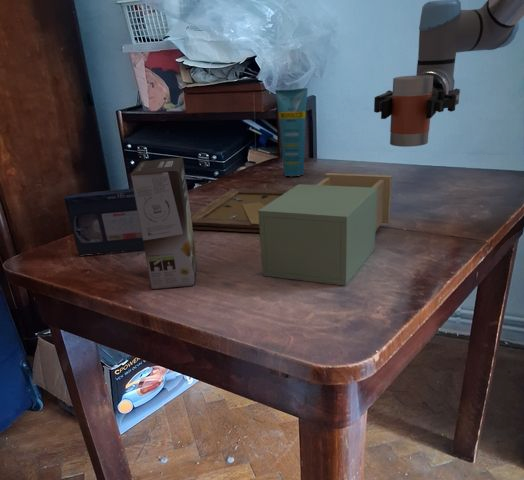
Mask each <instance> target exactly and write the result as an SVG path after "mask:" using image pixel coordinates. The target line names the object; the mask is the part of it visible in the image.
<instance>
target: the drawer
mask: <svg viewBox="0 0 524 480" xmlns="http://www.w3.org/2000/svg"><path fill="white" fill-rule="evenodd" d="M316 185H327V186H349V187H371V188H377V207H376V231H378V229H379V228H380V227H381V226H382V225H383V224H389V223H390V221H391V205H392V187H393V175H392V174H371V173H370V174H367V173H365V174H364V173H340V172H339V173H337V172H334V173H332V172H327V173H325V174H324V179H322V180H321V181H320V182H318V183H317V184H316Z"/></svg>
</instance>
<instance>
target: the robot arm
mask: <svg viewBox="0 0 524 480" xmlns="http://www.w3.org/2000/svg"><path fill="white" fill-rule="evenodd" d="M523 17H524V0H487V1H486V2H484V4H483V5H482V6H481V7H480V8H475V9H462V2H461V0H432V1H431V0H430V1H427V2H425V3H424V4H423V5H422V8H421V14H420V19H419V27H418V30H419V31H418V32H419V33H418V36H419V37H418V54H417V56H418V57H417V64H416V73H415V75H431V76H433V87H432V97H431V98H430V99H428V100H427V112H426V118H430V119H432V118H433V117H434V116H435V115H436V113H437V112H438V113H442V112H444V110H445V109H447V111H448V112H454V111H456V106H457V105H458V104H460V103H459V102H460V93H461V88H455V78H454V77H455V76H454V74H455V65H456V64H455V63H456V58H457V54H459V53H465V52H476V51H477V52H478V51H493V50H497V49H500V48H504V47H507V46H509V45H510V44H511V43H512V42H513V41H514V40H515V38H516V35H517V33H518V32H519V29H520V20H521V19H522V18H523ZM392 94H393V90H389V89H388V90H387V91H385V93H381V94H379V95H376V96H374V99H373V101H374V102H373V112H374V113H380V119H381V120H386V119H388V118H389V117H391V106H392Z"/></svg>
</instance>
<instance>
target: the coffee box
mask: <svg viewBox="0 0 524 480" xmlns="http://www.w3.org/2000/svg"><path fill="white" fill-rule="evenodd" d="M130 178H131V184H132V188H133V190H134V195H135V201H136V206H137V212H138V217H139V222H140V228H141V233H142V238H143V244H144V249H145V250H144V255H145V260H146V265H147V270H148V275H149V281H150V287H151V289H152V290H158V289H168V288H178V287H191V286H194V285H195V282H196V281H195V280H196V275H197V274H196V273H197V267H198V258H197V250H196V243H195V242H196V241H195V236H194V229H193V228H192V221H191V215H192V214H191V208H190V199H189V192H188V191H189V190H188V185H187V178H186V170H185V163H184V158H183V157H171V158H170V157H169V158H160V159H153V160H145V161H143V160H142V161H140V162H139V163H138V164H137V166H136V167H135V168H134V169H133V170H132V172H131V173H130Z"/></svg>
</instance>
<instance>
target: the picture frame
mask: <svg viewBox="0 0 524 480" xmlns="http://www.w3.org/2000/svg"><path fill="white" fill-rule="evenodd" d="M289 190H290V189H265V188H263V189H262V188H259V189H258V188H231V189H229V190H228V191H227V192H225V193H224V194H222V195H220V196H219V197H217V198H216V199H214V200H213V201H212V202H210V203H208V204H206V205H205V206H204V207H201V209H199V210H198V211H195V213H193V214H191V221H192V228H193V230H205V231H221V232H222V231H223V232H224V231H225V232H243V233H260V229H259V215H258V210H260V209H261V208H263V207H265V206H266V205H268V204H269V203H271V202H272V201H274V200H275V199H277V198H278V197H280V196H281V195H283V194H284V193H286V192H287V191H289Z"/></svg>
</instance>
